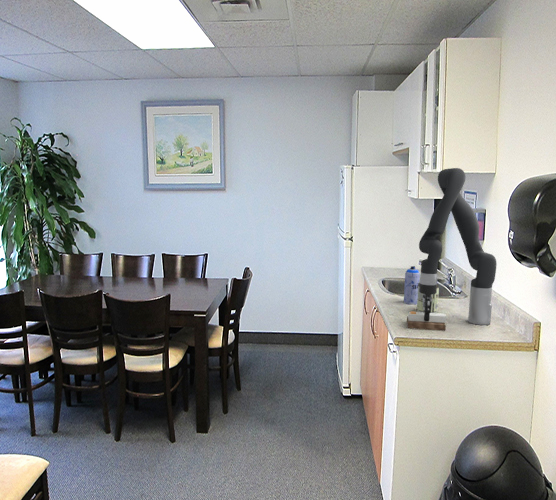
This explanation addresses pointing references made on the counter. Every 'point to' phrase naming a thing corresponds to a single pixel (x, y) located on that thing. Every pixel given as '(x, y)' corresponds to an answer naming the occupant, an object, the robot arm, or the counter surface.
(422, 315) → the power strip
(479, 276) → the robot arm
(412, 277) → the aerosol can
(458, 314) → the counter surface
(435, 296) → the coffee can
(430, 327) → the mounting board
